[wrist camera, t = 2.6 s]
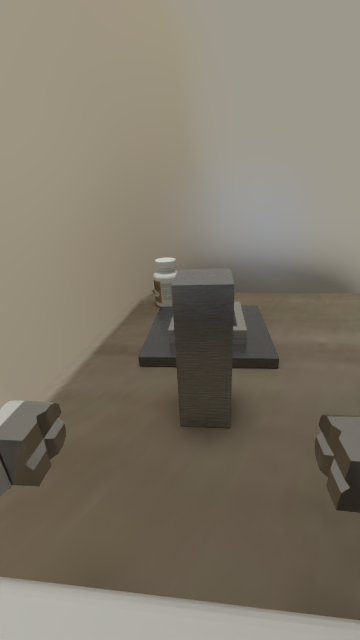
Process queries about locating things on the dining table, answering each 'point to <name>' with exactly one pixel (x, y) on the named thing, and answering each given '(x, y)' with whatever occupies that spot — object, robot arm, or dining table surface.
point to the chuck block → (247, 340)
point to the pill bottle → (164, 281)
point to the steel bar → (204, 345)
